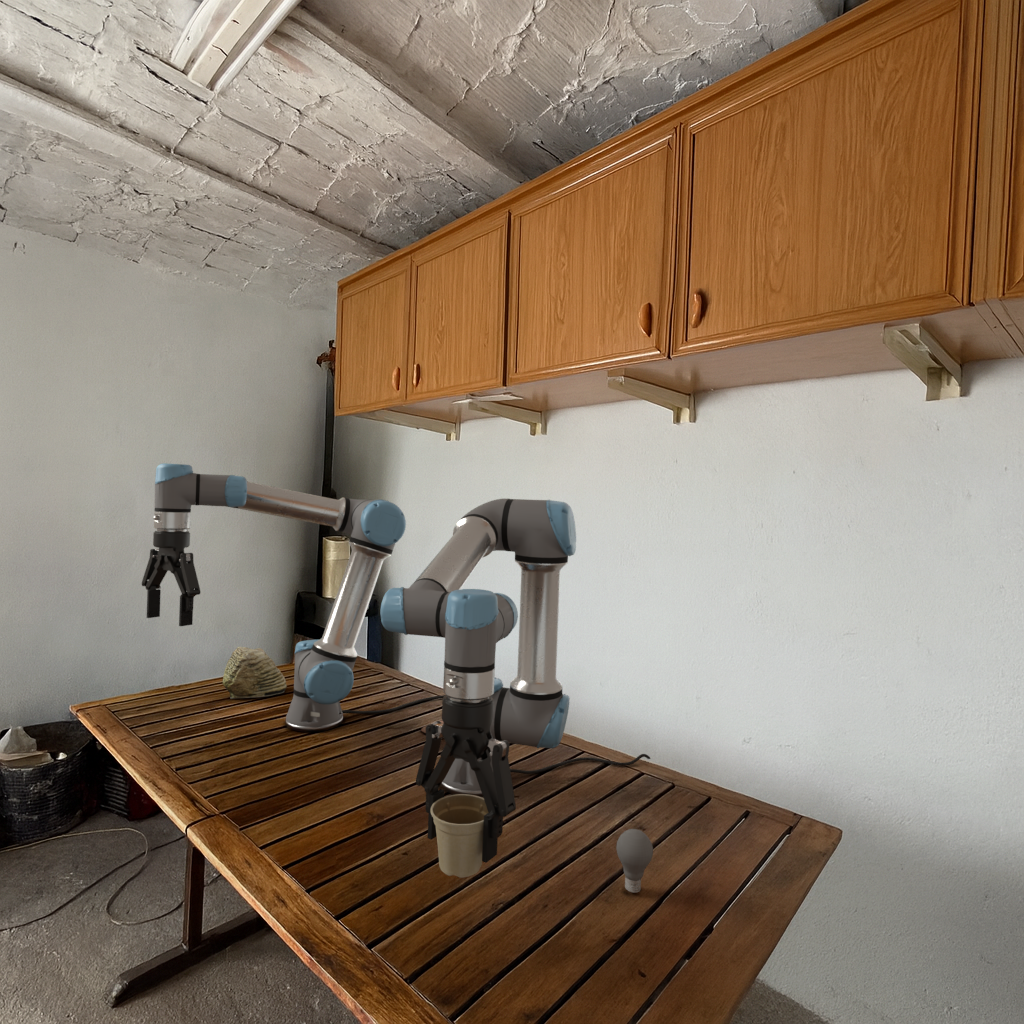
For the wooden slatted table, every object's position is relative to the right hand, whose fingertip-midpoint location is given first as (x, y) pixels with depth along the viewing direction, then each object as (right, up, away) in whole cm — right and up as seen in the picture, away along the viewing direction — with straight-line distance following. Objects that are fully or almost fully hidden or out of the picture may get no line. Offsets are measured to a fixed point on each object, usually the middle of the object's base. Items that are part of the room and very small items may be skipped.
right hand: (461, 846), depth 94 cm
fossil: (-73, -8, +104) cm, 128 cm away
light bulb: (+28, -14, +12) cm, 33 cm away
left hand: (-73, +24, +54) cm, 93 cm away
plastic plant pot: (0, -3, 0) cm, 3 cm away
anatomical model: (-11, -11, +81) cm, 83 cm away
